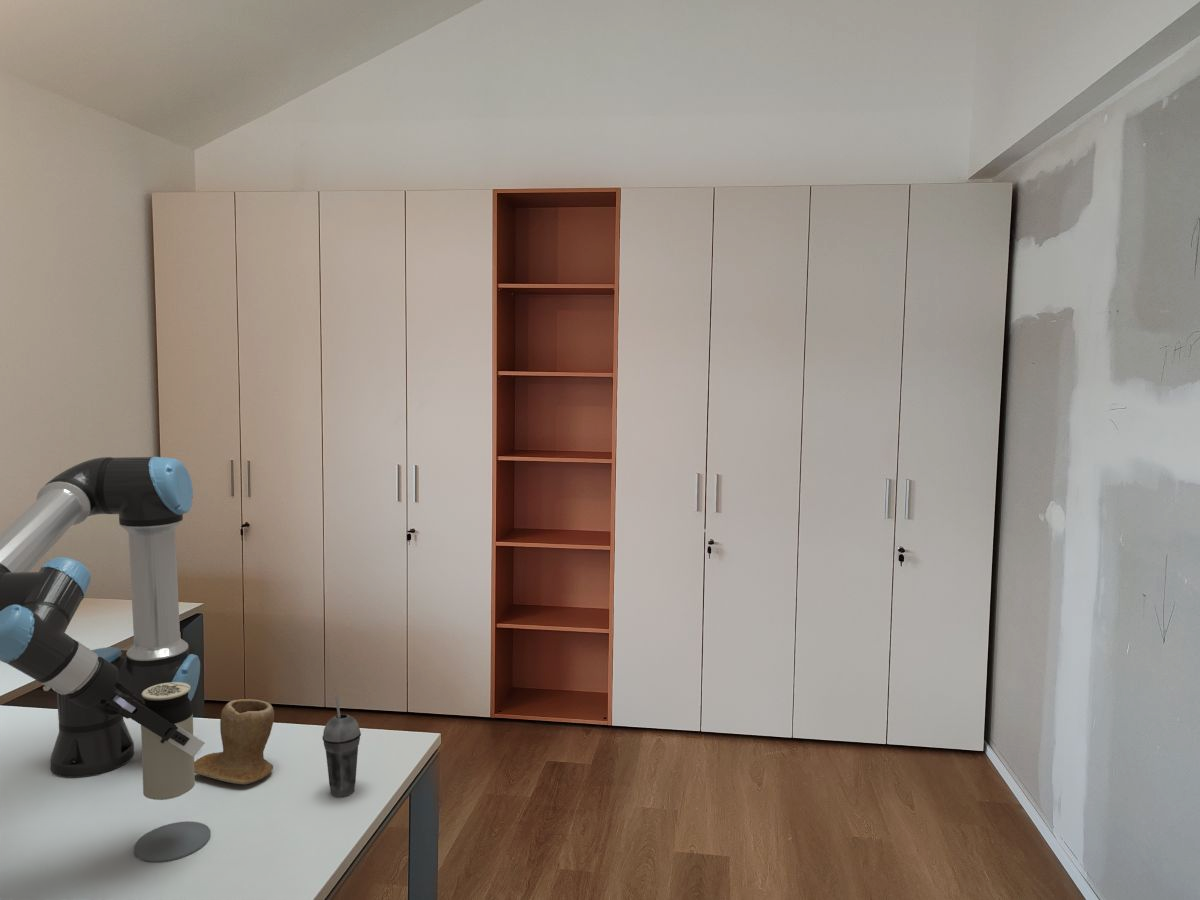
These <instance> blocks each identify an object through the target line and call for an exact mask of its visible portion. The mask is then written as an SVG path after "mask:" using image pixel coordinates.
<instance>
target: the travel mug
mask: <svg viewBox="0 0 1200 900" xmlns="http://www.w3.org/2000/svg"><path fill="white" fill-rule="evenodd" d="M190 688H191V687H190V685H188V684H186V683H182V682H169V683H162V684H158V685H154V686H151V687H149V688H147V689H145V690H144V691H143V692H142V697H143V698H144V702H145V704H144V706H146V707H147V708H149V709H150V710H152V711H153V712H155V713H157V714H158V715H160V716H161V717H163V718H164V719H166V720H167V721H169V722H170V723H174V724H176V725H177V726H179V727H181V728H182V729H184V730H185V731H187V732H189V733H190V734H192V735H193V736H194V720H193V719H194V714H193V713H194V710H193V702H192V700H191V701H190V699H189V698H188V693H189V691H190ZM140 733H141V761H142V764H141V765H142V786H143V787H142V790H143V791H142V792H143V796H144V797H145V798H147V799H151V800H156V801H157V800H158V801H164V800H165V801H167V800H171V799H175V798H178V797H181V796H183V795H185V794H186V793H189V792H190V791H191V790H192V789H193V788H194V787H195V785H196V778H195V776H196V773H195V772H194V762H195V756H194V757H193V756H191V755H190V754H188V753H186V752H185V751H183V750H181V749H180V748H178V747H176V746H175V745H173V744H171V743H170V742H168V741H165V742H164V743H161V742H160V741H161V740H162V737H160V736H158V735H157V734H155V733H153V732H152V731H150V730H149V729H147V728H145V727H144V726H142V725H141V724H140Z"/></svg>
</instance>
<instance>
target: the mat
mask: <svg viewBox="0 0 1200 900" xmlns="http://www.w3.org/2000/svg"><path fill="white" fill-rule="evenodd" d="M211 834H212V832H211V828H210V827H209V826H208V825H206V824H205V823H203V822H202V823H201V822H198V821H178V822H173V823H168V824H165V825H161V826H159V827H156V828H154V829H151V830H150V831H147V833H145V834H143V835H142V836H141V837H140V838H138V839H137V841H136V842H135V844H134V847H133V854H134V856H135V857H136V859H138V858H139V859H138V860H140V859H141V860H140V861H143V860H144V862H146V861H147V863H164V862H172V861H176V860H179V859H183V858H185V857H189V855H192V854H194V853H196V852H198V851H199V850H201V849H202V848H204V846H206V845H207V844H208V843H209V841H210V840H211Z"/></svg>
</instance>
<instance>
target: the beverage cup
mask: <svg viewBox="0 0 1200 900" xmlns="http://www.w3.org/2000/svg"><path fill="white" fill-rule="evenodd" d="M335 703H336V713H337V715H335V716H333V717H331V718H330V719H329V720H328V722H327V723H326V724H325V726H324V729H323V735H322V737H321V738H322V741H323V747H324V750H325V755H326V765H327V766H326V767H327V774H328V784H329V791H330V796H332V797H334V798H345V797H344V796H346V797H349V796H351V795H353V794H354V793H353V792H355V787H356V780H357V778H356V777H357V766H358V755H359V753H358V751H359V745H360V740H361V735H362V733H361V728H360V725H359V722H358V721H357V719H356V718H354V716H351V715H349V714H346V713H341V711H340V710H341V708H340V701H339V695H335ZM350 794H351V795H350ZM348 795H349V796H348Z"/></svg>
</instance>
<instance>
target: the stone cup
mask: <svg viewBox="0 0 1200 900" xmlns="http://www.w3.org/2000/svg"><path fill="white" fill-rule="evenodd" d="M274 719H275V709H274V707H273V706H272V704H271V703H270V702H267V701H264V700H260V699H250V698H248V699H245V698H244V699H243V698H242V699H234V700H233V699H232V700H231V701H229V702H228V703H226V704H225V705H224V707H223V708H222V710H221V714H220V720H219V721H220V722H219V726H220V727H219V728H220V729H219V731H220V738H221V745H222V751H220V752H211V753H208V754H205V755H203V756H201V757H199V758H197V759H196V760H194V772H195V774H197V775H200V776H203V777H208V778H209V779H214V780H218V781H222V782H225V783H232V784H235V785H236V784H237V785H248V784H253V783H256V782H258V781H260V780H262V779H264V778H265V777H267V776H268V775H270V774H271V771H273V769H274V765H273V764H272V763H270V761H268V760H266V759H265V756H264V751H265V748H266V745H267V742H268V740H269V738H270V736H271V731H272V727H273V725H274V722H275V720H274Z"/></svg>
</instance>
